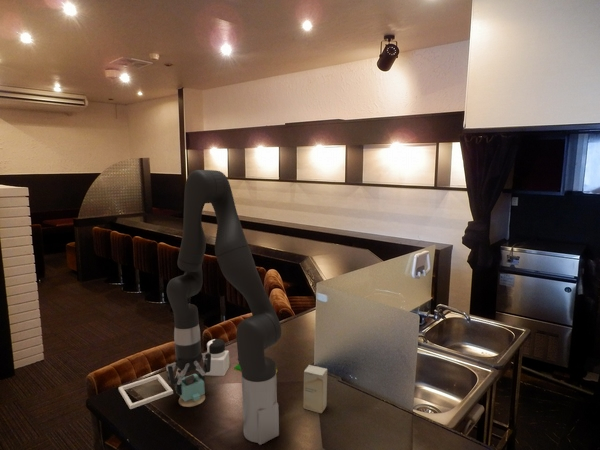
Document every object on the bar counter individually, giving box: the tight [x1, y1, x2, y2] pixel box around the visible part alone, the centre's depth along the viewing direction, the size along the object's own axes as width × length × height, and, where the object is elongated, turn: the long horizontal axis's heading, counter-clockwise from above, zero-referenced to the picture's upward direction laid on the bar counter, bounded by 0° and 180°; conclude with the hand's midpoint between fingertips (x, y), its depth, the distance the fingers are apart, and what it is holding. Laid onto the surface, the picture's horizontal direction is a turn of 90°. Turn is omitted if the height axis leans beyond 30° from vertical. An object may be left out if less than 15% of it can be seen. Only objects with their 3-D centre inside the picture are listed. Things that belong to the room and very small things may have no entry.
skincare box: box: [302, 364, 328, 414], centre depth 118 cm, size 6×4×12 cm
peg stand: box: [178, 374, 206, 408], centre depth 122 cm, size 8×8×8 cm
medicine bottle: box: [202, 338, 230, 377], centre depth 139 cm, size 7×7×12 cm
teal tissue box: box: [179, 373, 206, 401], centre depth 121 cm, size 8×6×4 cm
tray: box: [118, 374, 174, 410], centre depth 126 cm, size 13×13×2 cm
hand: (190, 390), depth 122 cm, fingers closed on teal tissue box, 6 cm apart
